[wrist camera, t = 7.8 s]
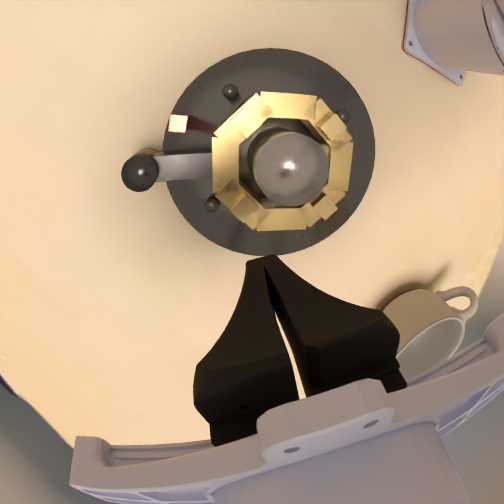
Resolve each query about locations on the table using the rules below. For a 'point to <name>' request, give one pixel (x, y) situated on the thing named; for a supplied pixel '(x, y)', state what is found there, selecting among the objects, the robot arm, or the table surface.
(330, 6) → the table surface
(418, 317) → the teacup
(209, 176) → the gold handled ring
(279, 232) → the cap plate
